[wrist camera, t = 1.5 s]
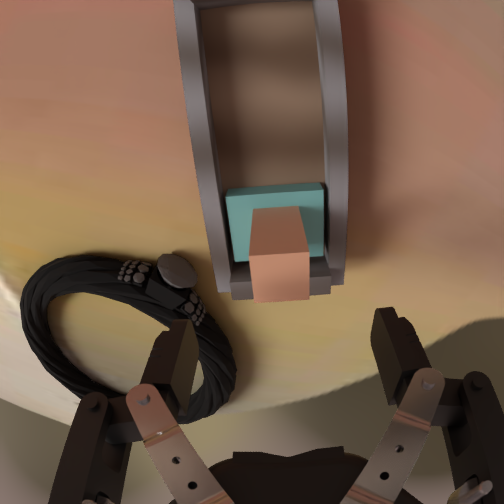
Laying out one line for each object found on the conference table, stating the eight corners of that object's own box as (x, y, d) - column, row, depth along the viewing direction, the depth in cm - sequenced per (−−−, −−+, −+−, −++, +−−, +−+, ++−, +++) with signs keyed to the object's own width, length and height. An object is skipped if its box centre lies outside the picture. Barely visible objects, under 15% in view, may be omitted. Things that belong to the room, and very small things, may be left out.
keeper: (228, 189, 22) (211, 240, 15) (319, 182, 21) (343, 231, 15) (236, 250, 24) (226, 317, 18) (320, 245, 24) (338, 310, 17)
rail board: (182, 0, 16) (163, -17, 12) (326, -13, 15) (339, -32, 11) (221, 267, 27) (213, 300, 23) (337, 260, 26) (348, 292, 22)
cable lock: (11, 359, 33) (35, 189, 20) (23, 342, 36) (59, 173, 23) (172, 446, 41) (309, 355, 28) (176, 426, 44) (305, 326, 31)
